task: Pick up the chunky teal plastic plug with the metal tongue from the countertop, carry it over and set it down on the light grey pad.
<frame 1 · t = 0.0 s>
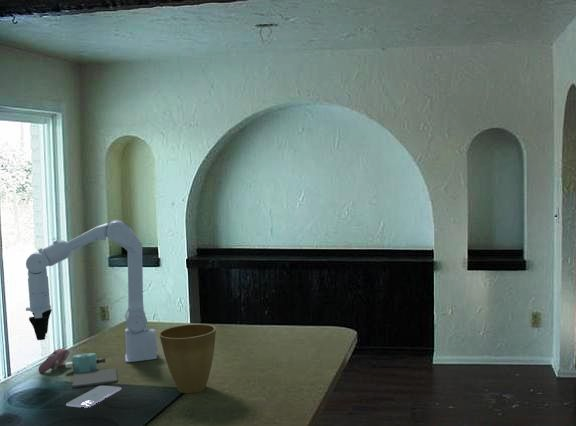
hand: (42, 336, 201), 10 cm above the kitchen island, tool pointing down, fingers open, 7 cm apart
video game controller: (55, 369, 203), on the kitchen island
pad: (95, 378, 190), on the kitchen island
mobile phone: (94, 398, 175), on the kitchen island
plant pot: (191, 389, 178), on the kitchen island
plug: (85, 370, 199), on the kitchen island
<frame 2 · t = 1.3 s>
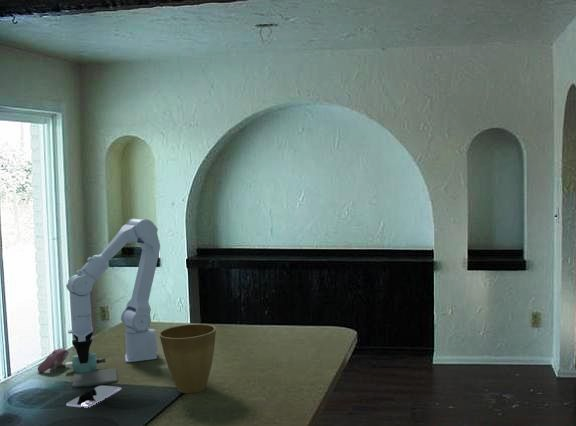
hand: (84, 359, 199), 3 cm above the kitchen island, tool pointing down, fingers open, 7 cm apart
nothing on the kitchen island moved.
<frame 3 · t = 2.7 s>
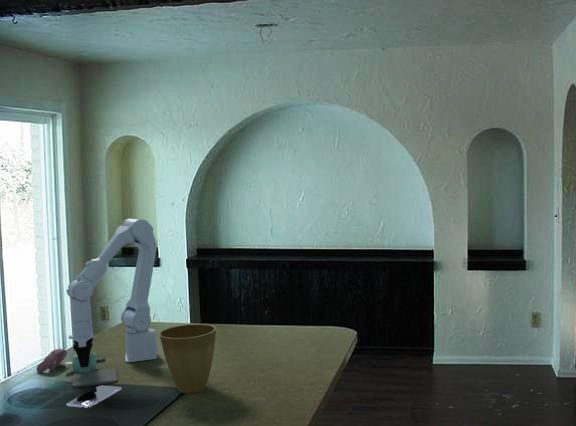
hand: (84, 364, 199), 2 cm above the kitchen island, tool pointing down, fingers closed on plug, 4 cm apart
plug: (85, 369, 199), on the kitchen island, touching gripper
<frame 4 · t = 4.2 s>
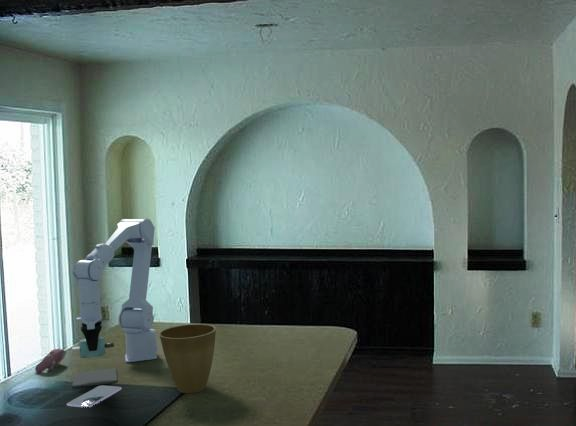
hand: (93, 348, 190), 9 cm above the kitchen island, tool pointing down, fingers closed on plug, 4 cm apart
plug: (92, 355, 190), point 7 cm above the kitchen island, touching gripper
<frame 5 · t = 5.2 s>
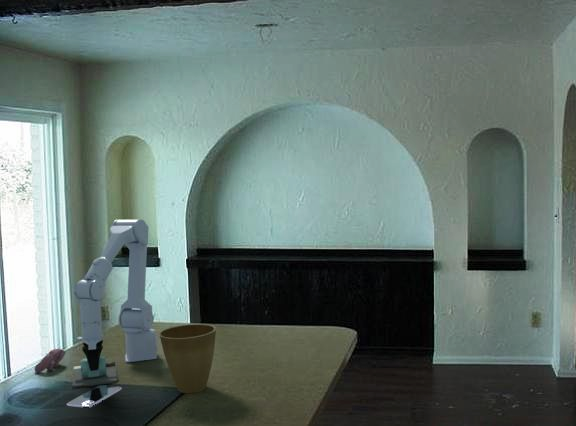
hand: (94, 368, 190), 3 cm above the kitchen island, tool pointing down, fingers closed on plug, 4 cm apart
plug: (94, 374, 190), point 1 cm above the kitchen island, touching gripper
when the fingers open (3 cm above the kitchen island, at t = 6.0 s): plug stays where it is, resting on pad.
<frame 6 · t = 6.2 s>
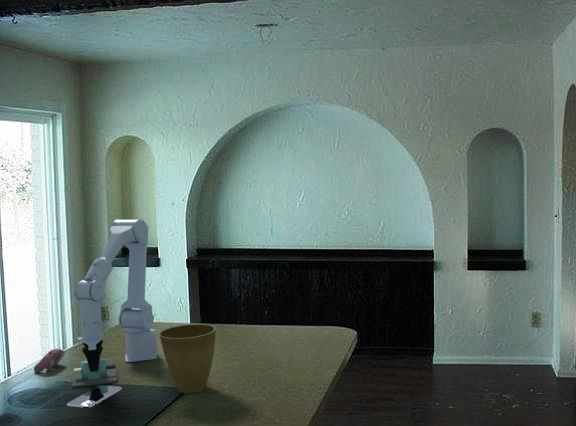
hand: (94, 368, 190), 3 cm above the kitchen island, tool pointing down, fingers open, 5 cm apart
plug: (94, 376, 190), point 1 cm above the kitchen island, touching pad
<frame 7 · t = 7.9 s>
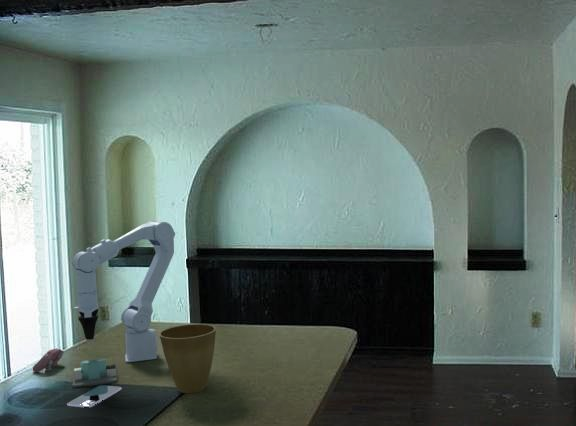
hand: (90, 336, 200), 10 cm above the kitchen island, tool pointing down, fingers open, 7 cm apart
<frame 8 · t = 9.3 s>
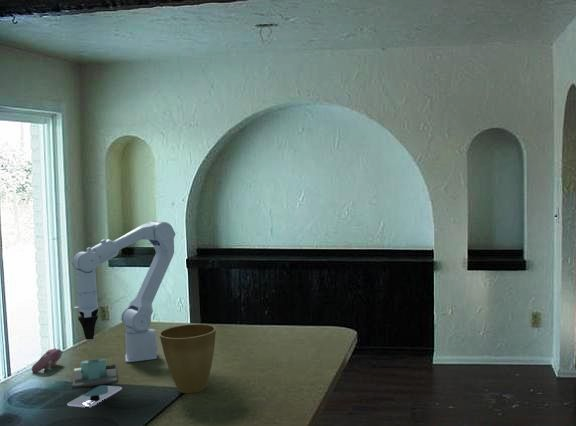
hand: (89, 336, 200), 10 cm above the kitchen island, tool pointing down, fingers open, 7 cm apart
at the end: plug inside the target area on the pad (0.2 cm from its centre), point 0.6 cm above the pad's base; plug tilted 0°; the gripper is holding nothing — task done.
